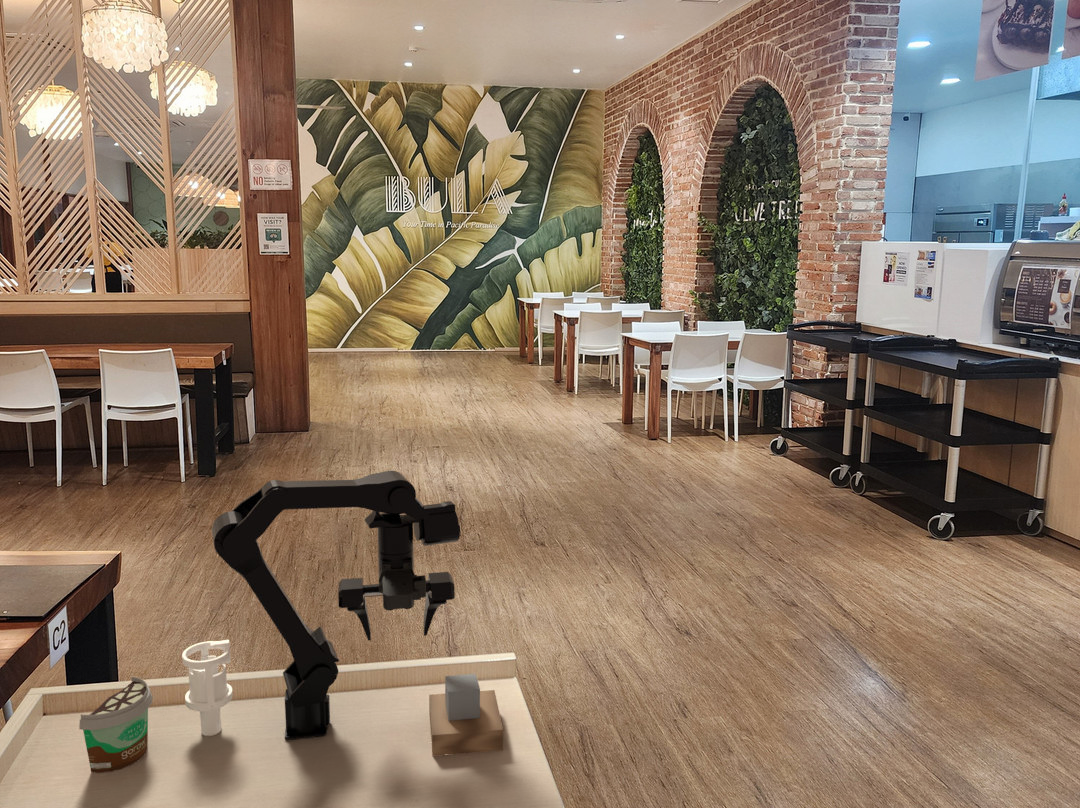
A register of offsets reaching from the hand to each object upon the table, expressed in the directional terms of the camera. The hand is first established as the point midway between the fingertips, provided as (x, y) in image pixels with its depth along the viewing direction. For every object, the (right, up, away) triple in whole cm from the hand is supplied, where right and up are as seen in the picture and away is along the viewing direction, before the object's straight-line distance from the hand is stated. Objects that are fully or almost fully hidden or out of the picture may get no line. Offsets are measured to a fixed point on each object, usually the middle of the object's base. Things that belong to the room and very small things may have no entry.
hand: (397, 637), depth 143 cm
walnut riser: (+12, -15, -4) cm, 19 cm away
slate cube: (+11, -11, -5) cm, 16 cm away
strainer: (-29, -14, -5) cm, 33 cm away
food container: (-39, -15, -12) cm, 43 cm away
